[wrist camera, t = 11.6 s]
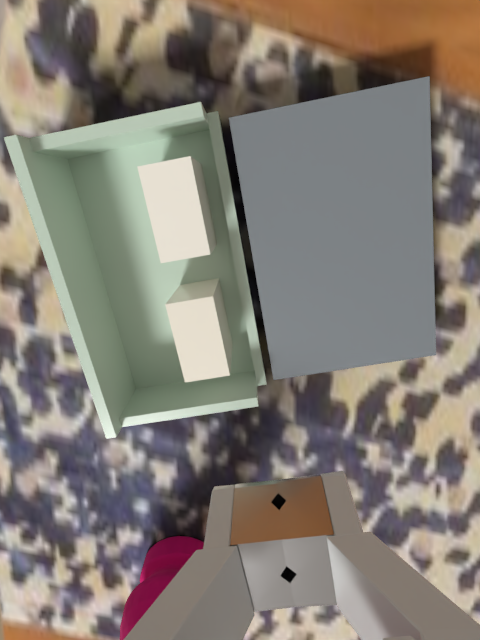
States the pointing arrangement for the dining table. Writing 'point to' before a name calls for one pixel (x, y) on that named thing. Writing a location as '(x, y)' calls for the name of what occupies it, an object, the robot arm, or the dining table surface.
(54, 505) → the dining table surface
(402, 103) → the slate plate
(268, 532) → the robot arm
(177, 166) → the tile front
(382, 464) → the dining table surface
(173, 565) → the pepper mill
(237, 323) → the bin
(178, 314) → the tile back
